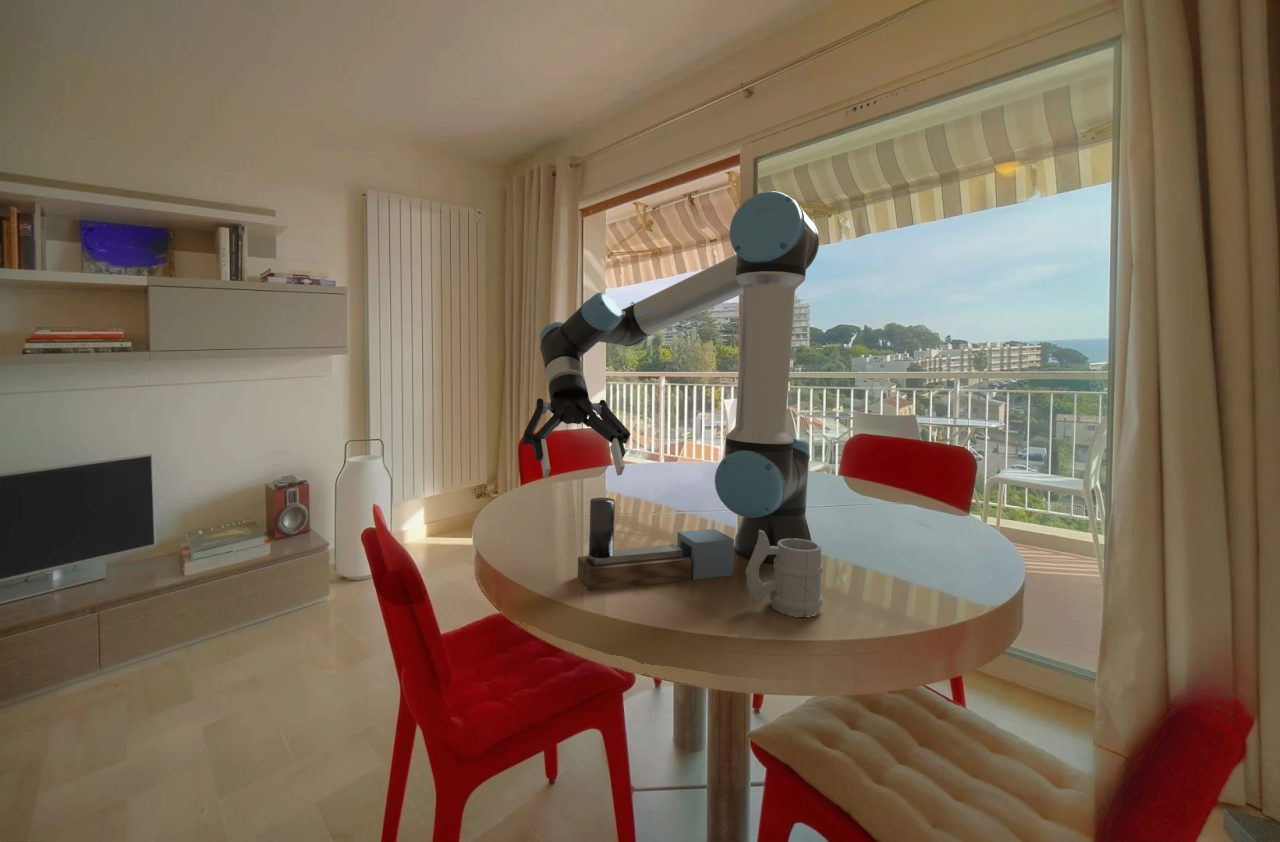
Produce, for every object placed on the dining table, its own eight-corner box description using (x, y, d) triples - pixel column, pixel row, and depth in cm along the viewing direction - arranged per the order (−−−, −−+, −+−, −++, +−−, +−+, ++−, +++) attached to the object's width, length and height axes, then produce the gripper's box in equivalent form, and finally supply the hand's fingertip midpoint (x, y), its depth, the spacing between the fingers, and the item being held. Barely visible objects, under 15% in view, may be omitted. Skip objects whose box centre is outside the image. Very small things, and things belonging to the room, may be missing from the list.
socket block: (712, 562, 104) (714, 528, 103) (732, 575, 97) (734, 539, 97) (676, 566, 101) (677, 531, 101) (693, 579, 95) (695, 542, 94)
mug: (831, 618, 81) (836, 537, 80) (753, 620, 79) (757, 538, 78) (808, 597, 89) (813, 523, 88) (736, 599, 87) (740, 523, 86)
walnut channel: (674, 567, 101) (675, 548, 100) (690, 579, 95) (691, 559, 94) (577, 577, 94) (578, 556, 94) (588, 591, 88) (588, 569, 88)
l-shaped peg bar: (672, 562, 99) (675, 493, 98) (682, 570, 95) (685, 498, 94) (585, 571, 93) (587, 498, 92) (592, 580, 89) (594, 503, 88)
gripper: (620, 398, 119) (644, 481, 107) (501, 396, 110) (511, 486, 97) (630, 374, 114) (655, 458, 101) (505, 369, 105) (516, 461, 92)
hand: (584, 472), depth 99 cm, fingers open, 13 cm apart
